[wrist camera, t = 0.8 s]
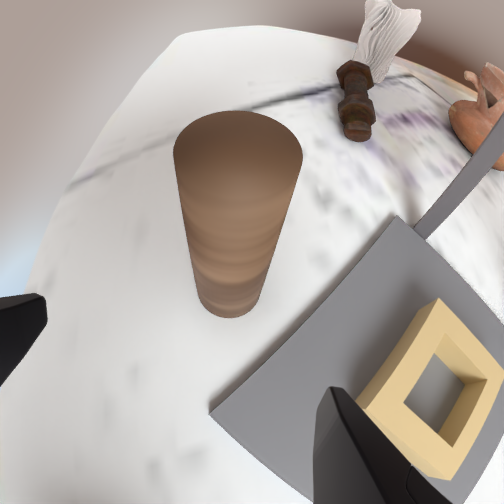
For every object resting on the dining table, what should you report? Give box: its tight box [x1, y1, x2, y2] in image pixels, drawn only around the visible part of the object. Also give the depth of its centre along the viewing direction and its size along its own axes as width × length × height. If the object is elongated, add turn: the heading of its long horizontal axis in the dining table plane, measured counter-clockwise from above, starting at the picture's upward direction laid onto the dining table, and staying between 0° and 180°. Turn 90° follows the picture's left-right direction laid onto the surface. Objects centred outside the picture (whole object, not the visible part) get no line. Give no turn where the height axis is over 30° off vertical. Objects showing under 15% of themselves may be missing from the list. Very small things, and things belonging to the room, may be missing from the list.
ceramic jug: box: [449, 62, 504, 171], centre depth 32 cm, size 18×14×14 cm
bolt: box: [336, 60, 376, 142], centre depth 34 cm, size 6×5×15 cm
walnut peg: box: [173, 111, 303, 318], centre depth 17 cm, size 5×5×14 cm
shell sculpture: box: [353, 0, 421, 83], centre depth 34 cm, size 8×8×18 cm
